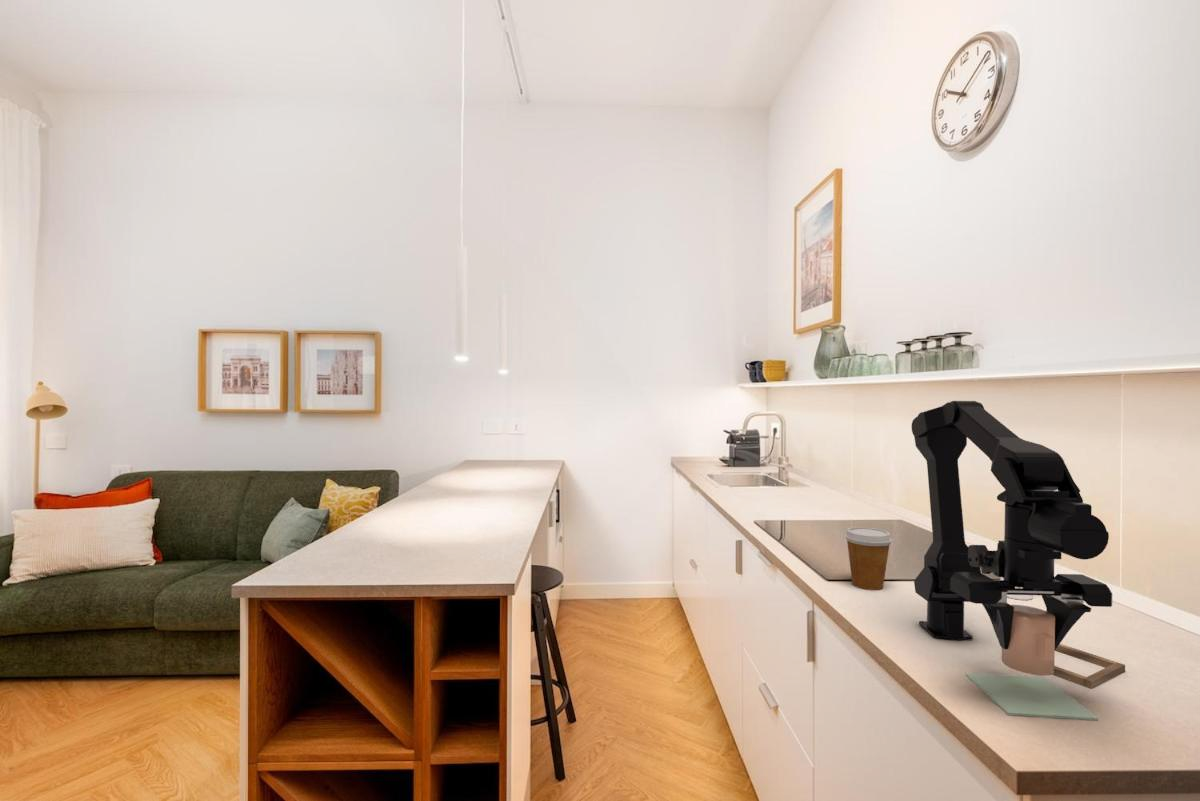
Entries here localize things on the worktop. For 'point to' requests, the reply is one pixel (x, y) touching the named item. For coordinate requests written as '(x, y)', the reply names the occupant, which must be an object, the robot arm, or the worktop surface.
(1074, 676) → the walnut collar
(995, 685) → the sage mat
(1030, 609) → the peach round cylinder
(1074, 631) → the worktop surface
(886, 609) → the worktop surface
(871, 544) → the disposable coffee cup
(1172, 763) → the worktop surface
